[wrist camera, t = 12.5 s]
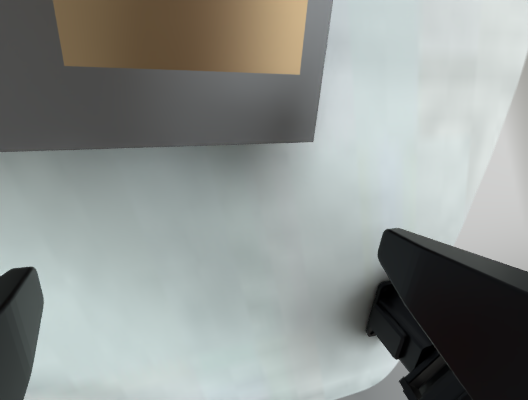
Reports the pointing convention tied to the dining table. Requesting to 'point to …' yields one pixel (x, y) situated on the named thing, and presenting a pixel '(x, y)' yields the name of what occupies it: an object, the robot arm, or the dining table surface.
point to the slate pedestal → (146, 94)
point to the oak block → (183, 34)
